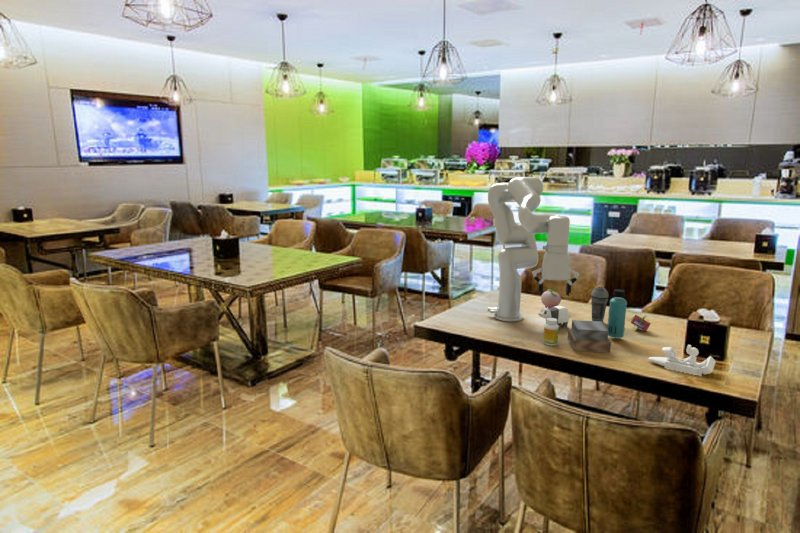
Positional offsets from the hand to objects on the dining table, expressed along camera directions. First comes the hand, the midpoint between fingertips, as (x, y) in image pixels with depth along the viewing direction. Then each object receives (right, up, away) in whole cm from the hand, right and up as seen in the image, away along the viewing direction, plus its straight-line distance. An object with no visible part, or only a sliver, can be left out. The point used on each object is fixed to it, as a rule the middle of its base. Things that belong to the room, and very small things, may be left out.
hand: (554, 294), depth 197 cm
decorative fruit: (+12, -10, +48) cm, 51 cm away
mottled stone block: (+14, -20, +3) cm, 24 cm away
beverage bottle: (+27, -18, +10) cm, 34 cm away
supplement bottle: (0, -19, +4) cm, 20 cm away
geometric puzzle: (+41, -16, +20) cm, 49 cm away
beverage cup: (+28, -14, +30) cm, 43 cm away
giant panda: (+7, -15, +23) cm, 29 cm away
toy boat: (+37, -25, -18) cm, 48 cm away
